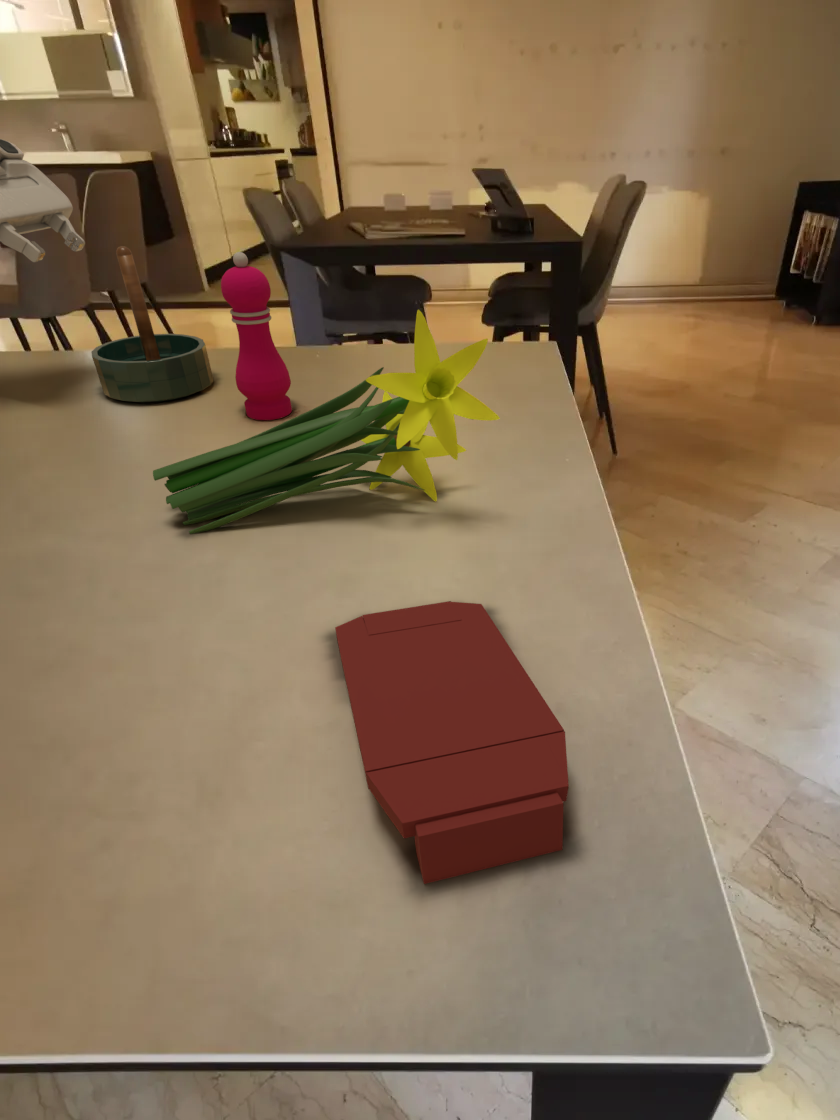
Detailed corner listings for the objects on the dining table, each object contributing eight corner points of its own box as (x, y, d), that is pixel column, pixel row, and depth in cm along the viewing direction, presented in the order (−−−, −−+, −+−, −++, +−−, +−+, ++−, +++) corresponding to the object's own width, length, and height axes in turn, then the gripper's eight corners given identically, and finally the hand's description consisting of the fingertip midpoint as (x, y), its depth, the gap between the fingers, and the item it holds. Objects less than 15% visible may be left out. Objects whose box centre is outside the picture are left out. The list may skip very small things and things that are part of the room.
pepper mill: (232, 418, 97) (196, 255, 84) (260, 402, 102) (230, 246, 90) (278, 424, 95) (248, 258, 83) (305, 407, 100) (279, 248, 88)
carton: (342, 671, 59) (388, 897, 38) (333, 619, 57) (378, 830, 36) (479, 647, 62) (594, 846, 41) (477, 596, 59) (597, 780, 38)
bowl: (82, 395, 104) (67, 353, 101) (165, 367, 115) (155, 329, 111) (154, 412, 98) (142, 368, 95) (235, 382, 109) (226, 341, 106)
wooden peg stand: (130, 386, 106) (88, 247, 94) (162, 376, 110) (125, 241, 98) (158, 392, 103) (118, 251, 92) (189, 381, 108) (155, 244, 96)
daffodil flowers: (199, 486, 81) (480, 385, 82) (225, 596, 77) (523, 488, 77) (110, 394, 65) (461, 268, 65) (137, 526, 61) (514, 390, 61)
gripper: (-89, 147, 81) (22, 245, 86) (21, 142, 98) (110, 225, 103) (-106, 191, 84) (3, 284, 89) (4, 180, 101) (91, 259, 106)
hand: (61, 252), depth 96 cm, fingers open, 8 cm apart
